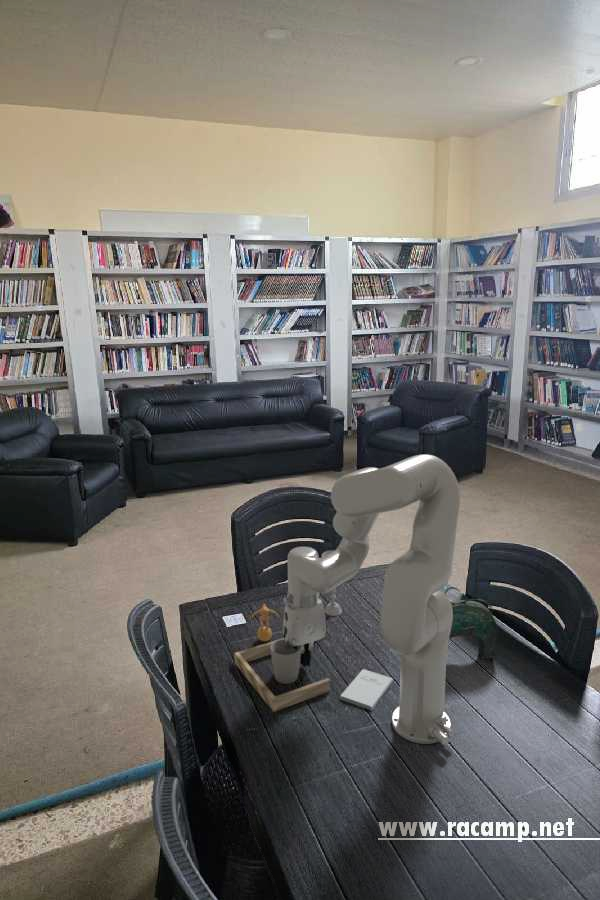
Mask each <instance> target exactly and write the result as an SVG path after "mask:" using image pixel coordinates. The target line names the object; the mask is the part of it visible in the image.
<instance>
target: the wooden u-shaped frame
mask: <svg viewBox="0 0 600 900" xmlns="http://www.w3.org/2000/svg"><path fill="white" fill-rule="evenodd" d="M280 639H284V637H282V638H279V639H276V640H273V641H269V642H266V643H263V644H260V645H257V646H253V647H250V648H245V649H243V650H239V651H237V652H234V664H235V666H236V667H238V669H239V671H240V672H241V673H242V674H243V675H244V677H245V678H246V680H247V681H248V682H249V683H250V684H251V686H252V687H253V688H254V689H255V690H256V692H257V693H258V694H259V696H260V697H261V698H262V699H263V701H264V702H265V703H266V704H267V706H268V707H269V708H270V709H271V711H272V712H274V713H275V712H277V711H280V710H282V709H285V708H287V707H291V706H294V705H296V704H299V703H301V702H302V703H303V702H304V701H307V700H310V699H313V698H315V697H319V696H322V695H324V694H327V693H329V692H330V691H331V690H330V689H331V688H330V687H331V681H330V678H328V677H326V678H323V679H320V680H318V681H315V682H313V683H310V684H307V685H304V686H301V687H298V688H296V689H293V690H290V691H287V692H284V693H282V694H279V695H275V694H273V692H272V691H271V689H269V687H268V686H267V685H266V684H265V682H264V681H263V680H262V679H261V678H260V676H259V675H258V674H257V673H256V671H255V670H254V669H253V668H252V667H251V666H250V665H249V663H248V662H251V661H256V660H258V659H261V658H264V657H267V656H270V655H271V649H270V647H271V645H272V643H273V642H275V641H277V640H280Z"/></svg>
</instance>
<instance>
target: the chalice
mask: <svg viewBox="0 0 600 900" xmlns="http://www.w3.org/2000/svg"><path fill="white" fill-rule="evenodd" d="M335 550H336V549H335ZM335 550H334V549H331V550H326V551H323V553H322V554H321V558H322V557H324V556H326V555H328V554H329V553H331V552H334V551H335ZM336 592H337V590H336V587H335V588H334V589H332V590H330V593H331V595H330V598H331V602H329V603H328V604H327V606H326V608H325V609H324V614H325V615H328V616H330V617H331V616H332V617H334V616H335V617H336V616H340V615H341V614H342V613H343V610H342V609H341V605H340V604H339V603H338V602H336V598H337V595H336Z"/></svg>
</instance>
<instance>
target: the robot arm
mask: <svg viewBox="0 0 600 900" xmlns="http://www.w3.org/2000/svg"><path fill="white" fill-rule="evenodd" d="M330 492H331V493H330V500H331V504H332V506H333V508H334V510H335V511H336V513H335V514H334V516H333V520H332V526H333V528H334V529H333V530H334V531H335V532H336V533H337V534H338V535H339V536H340V537H341V538H342V539H341V541H340V543H339V544H338V546H337V548H336V549H335V551H334V552H331V553H329V554H328V555H326V556H324V557H322V556H321V557H319V553H318V551H317V550H316V549H315V548H312V547H311V546H297V547H294V548H292V549H291V550H290V551H289V552H288V554H287V595H286V596H285V597H283V603H284V604H285V606H284V612H283V623H282V633H283V634H282V635H283V636H282V638H284V639H285V642H284V646H285V648H286V649H293V648H295V649H296V650H297V647H298V646H300V645H301V646H302V647H301V658H300V664H301V665H300V666H302V667H303V668H306V667H309V666H311V659H312V651H313V650H314V646H315V644H316V643H317V642H318V641H319V640H322V639H323V638H325V637H326V634H327V633H326V632H327V625H326V624H327V623H326V613H325V608H324V604H323V600H322V599H321V598H320V594H326V593H328V592H331V590H332V589H334V588H335V589H336V588H337V587H339V586H340V585H341V584H343V583H345V582H346V581H349V580H351V579H352V578H353V577H354V576H355V575H356V574H357V573H358V572H359V571H360V569H361V567H362V565H363V564H364V561H365V559H366V558H367V556H368V553H369V550H370V536H369V535H370V533H371V531H372V529H373V527H374V525H375V523H376V521H377V519H378V518H379V516H380V514H381V513H386V512H387V513H388V512H392V511H396V510H400V509H403V508H404V509H405V508H406V507H408V506H410V505H412V504H414V503H416V502H418V501H419V504H418V508H417V510H416V513H415V517H414V520H413V523H412V532H411V534H412V535H411V542H410V546H409V548H408V550H407V551H406V552H405V553H404V554H401V555H400V556H399V557H397V558H396V559H395V560H393V561H392V562H391V563H390V564H389V566H388V568H387V569H386V571H385V574H384V577H383V581H382V582H383V585H382V593H381V595H382V596H381V604H380V605H381V607H380V616H379V617H380V620H379V626H380V632H381V633H380V634H381V636H382V639H383V641H384V643H385V645H386V646H387V647H388V649H390V650H391V651H392V652H393V653H395V654H396V655H400V669H399V670H400V673H399V674H400V675H399V703H398V705H399V706H397V707H396V708H395V709H394V710H393V712H392V714H391V715H392V716H391V724H392V729H394V731H395V732H396V734H398V735H399V736H400V737H402V738H403V739H405V740H407V741H408V742H412V743H415V744H421V745H429V744H430V745H431V744H436V743H438V742H439V743H440V744H441V745H442V746H447V745H448V744H449V742H450V737H452V736H453V735H454V733H455V732H454V730H453V729H452V728H451V726H452V724H451V720H450V718H449V716H448V715H447V713H446V712H445V694H446V679H447V678H446V677H447V674H446V673H447V661H448V648H449V647H448V646H449V641H450V639H449V636H450V631H451V627H452V620H453V610H452V606H451V603H450V602H451V601H450V599H449V597H448V596H447V594H446V595H445V592H443V591H442V590H441V589H442V588H443V587H445V586H446V585H447V584H448V583H449V582H450V580H451V577H452V574H453V563H454V554H455V548H456V536H457V526H458V520H459V512H460V505H461V504H460V503H461V493H460V492H461V491H460V485H459V483H458V479H457V476H456V475H455V473H454V472H453V471H452V468H451V467H449V465H448V464H447V463H446V462H445V461H444V460H443V459H441V458H439V457H437V456H435V455H432V454H428V453H427V454H418V455H417V454H416V455H413V456H410V457H406V458H405V459H402V460H400V461H397V462H395V463H392V464H390V465H386V466H385V467H381V468H377V467H373V466H372V467H370V466H369V467H365V468H361V469H358V470H355V471H352V472H351V473H347V474H345V475H343V476H340V477H339V478H338V479H337V480H335V483H334V484H333V486H332V488H331V491H330Z"/></svg>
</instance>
